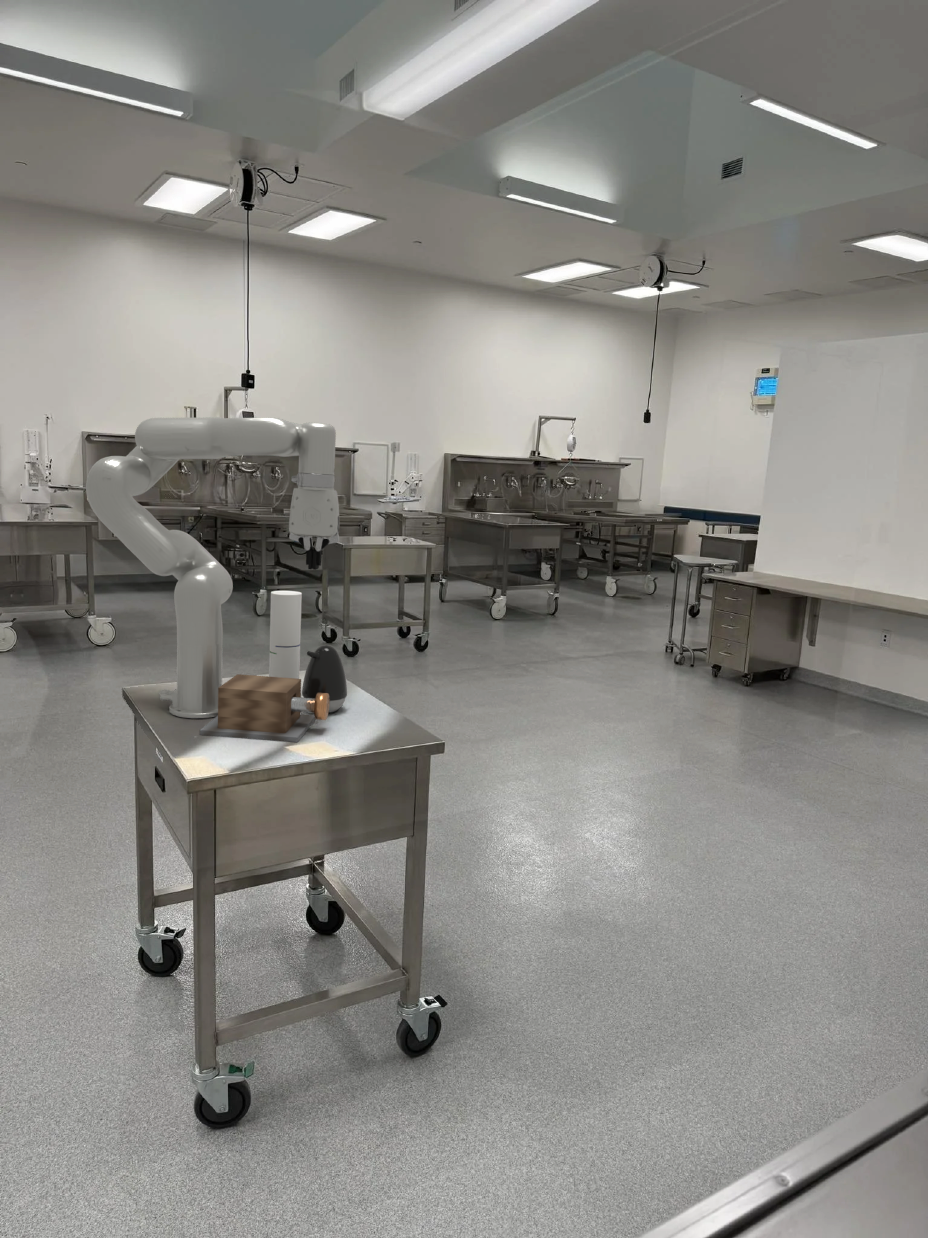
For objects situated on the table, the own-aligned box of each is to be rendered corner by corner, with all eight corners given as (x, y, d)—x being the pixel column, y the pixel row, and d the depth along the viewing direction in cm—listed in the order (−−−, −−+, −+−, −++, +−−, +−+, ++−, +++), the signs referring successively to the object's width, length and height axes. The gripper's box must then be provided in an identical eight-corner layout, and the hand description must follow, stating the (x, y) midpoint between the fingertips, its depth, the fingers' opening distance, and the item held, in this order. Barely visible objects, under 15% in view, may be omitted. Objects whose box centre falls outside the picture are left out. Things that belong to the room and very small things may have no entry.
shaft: (227, 716, 172) (228, 690, 171) (236, 708, 178) (236, 683, 177) (323, 723, 171) (324, 697, 170) (329, 715, 177) (329, 690, 176)
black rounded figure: (291, 708, 190) (293, 643, 187) (326, 701, 198) (328, 638, 195) (320, 719, 183) (322, 651, 181) (355, 711, 191) (358, 646, 189)
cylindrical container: (291, 700, 197) (294, 596, 193) (263, 696, 198) (265, 593, 194) (303, 693, 204) (306, 592, 200) (276, 689, 205) (278, 589, 201)
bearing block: (199, 734, 168) (200, 689, 166) (226, 713, 184) (226, 671, 182) (297, 742, 167) (298, 696, 165) (315, 719, 183) (317, 677, 181)
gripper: (276, 480, 173) (274, 568, 176) (347, 485, 172) (344, 573, 175) (286, 480, 180) (283, 564, 183) (354, 484, 180) (351, 569, 183)
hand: (313, 568), depth 179 cm, fingers closed
